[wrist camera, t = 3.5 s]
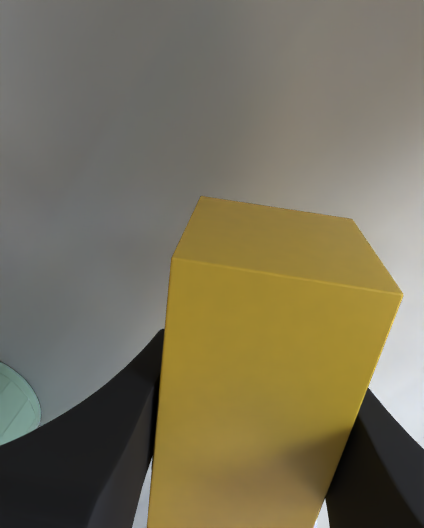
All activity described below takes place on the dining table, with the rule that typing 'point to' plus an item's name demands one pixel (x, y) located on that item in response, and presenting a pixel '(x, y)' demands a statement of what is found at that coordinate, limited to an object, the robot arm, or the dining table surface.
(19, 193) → the dining table surface
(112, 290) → the dining table surface
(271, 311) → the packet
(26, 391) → the mug
